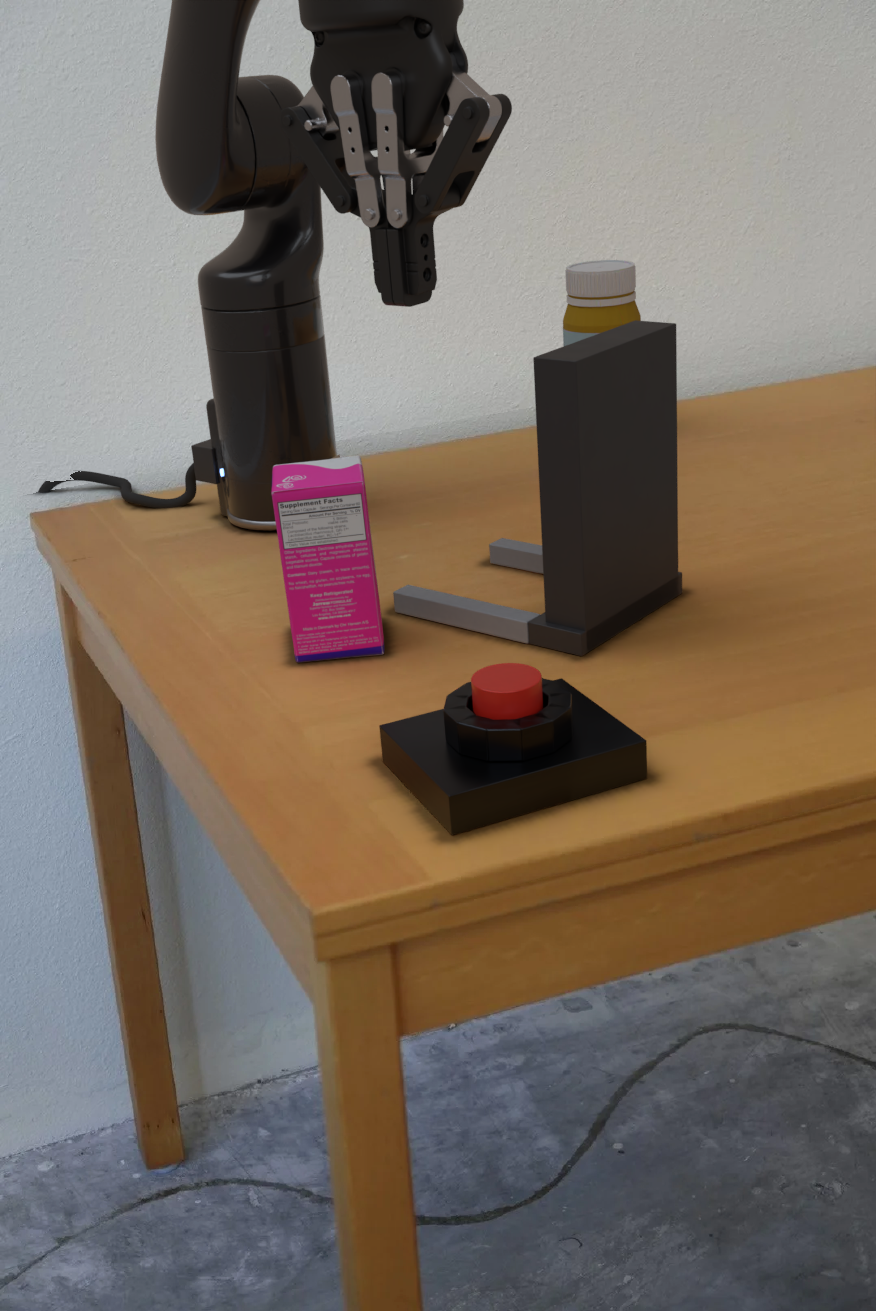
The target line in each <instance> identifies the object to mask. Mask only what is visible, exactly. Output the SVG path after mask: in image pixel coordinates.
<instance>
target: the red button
mask: <svg viewBox="0 0 876 1311" xmlns="http://www.w3.org/2000/svg"><path fill="white" fill-rule="evenodd" d="M542 678H543V676H542V673H541V671H540V670H539V669H537V668H536V667H534V666H532V665H529V664H526V663H525V664H524V663H518V662H503V663H502V662H501V663H495V664H490V665H487V666H484V667H481V668H480V669H477V671H475V672H474V673H473V674H472V675H471V678H470V682H471V687H472V701H473V711H474V713H475V714H476V715H477V716H481V717H485V718H489V719H493V720H502V719H518V718H522V717H525V716H529V715H533V714H536V713H538V712H539V711H540V710H542V708H543V694H542Z"/></svg>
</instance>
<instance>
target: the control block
mask: <svg viewBox="0 0 876 1311" xmlns="http://www.w3.org/2000/svg"><path fill="white" fill-rule="evenodd" d="M542 694H543V708H542V710H540V711H539V712H538V713H536V714H533V715H529V716H525V717H522V718H518V719H502V720H493V719H489V718H485V717H481V716H477V715H476V714H475V713H474V711H473V701H472V687H471V681H468V682H466V683H464V684H462V685H460V686H459V687H458V688H456V689H454V690H453V691H451V692H450V693H449V694H447V695H446V697H445V701H444V704H443V705H444V706H443V708H441V709H437V710H433V711H429V712H425V713H422V714H418V715H413V716H410V717H406V718H402V719H399V720H394V721H390V722H387V723H383V724H380V725H379V738H380V747H381V757H382V762H383V763H384V765H385V766H387V768H388V769H389V770H390V771H391V772H392V773H393V774H394V775H395V776H396V778H398V780H399V781H400V782H401V783H402V784H403V785H404V786H405V787H406V788H407V789H408V790H409V791H410V792H411V794H412V795H413V796H414V797H415V798H416V799H417V800H418V801H419V802H420V803H421V804H422V805H423V806H424V808H426V810H427V811H428V812H430V814H432V815H433V817H434V818H435V819H436V820H437V821H438V822H439V823H440V824H441V826H443V828H444V829H445V830H446V831H448V833H449V834H450V835H451V836H454V835H458V834H462V833H465V832H468V831H472V830H475V829H479V828H482V827H485V826H488V825H492V824H496V823H499V822H502V821H506V820H509V819H513V818H516V817H519V816H523V815H527V814H531V813H533V812H536V811H540V810H545V809H547V808H551V807H553V806H558V805H561V804H564V803H568V802H571V801H574V800H577V799H581V798H584V797H588V796H592V795H595V794H599V793H601V792H605V791H609V790H612V789H615V788H619V787H622V786H626V785H629V784H633V783H635V782H639V781H643V780H647V779H648V758H647V757H648V753H647V751H648V750H647V749H648V747H647V746H648V745H647V739H646V738H644V737H643V736H641V735H640V734H638V733H637V732H635V730H633V729H631V728H630V727H629V726H628V725H626V724H625V723H624V722H622V721H621V720H619V719H618V718H617V717H615V715H613V714H611V713H610V712H609V711H607V710H605V709H604V708H603V707H601V706H600V705H599V704H597V703H596V702H595V701H594V700H592V698H589V697H588V696H587V695H586V694H584V693H582V692H581V691H580V690H579V689H578V688H576V687H575V686H573V685H572V684H570V683H569V682H568V681H566V680H565V679H564V678H562V677H560V678H557V679H554V680H553V679H549V678H544V677H542Z"/></svg>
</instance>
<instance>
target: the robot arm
mask: <svg viewBox="0 0 876 1311" xmlns="http://www.w3.org/2000/svg"><path fill="white" fill-rule="evenodd" d="M260 2H261V0H171V5H170V11H169V12H170V13H169V20H168V21H169V22H168V28H167V32H166V33H167V34H166V41H165V47H164V54H163V60H162V67H161V74H160V81H159V89H158V96H157V104H156V112H155V135H154V139H155V154H156V155H155V156H156V162H157V168H158V172H159V176H160V180H161V183H162V186H163V189H164V190H165V192H166V195H167V196H168V197H169V199H170V201H171V202H172V204H173V205H174V206H176V208H178V209H179V210H180V211H182V212H183V213H186V214H188V215H192V216H214V215H215V216H216V215H221V214H223V215H224V214H229V213H235V212H242V211H243V221H242V226H241V228H240V230H239V232H238V234H237V235H236V236H235V238H234V239H233V240H232V242H231V243H230V244H228V246H227V247H226V248H225V249H224V250H222V251H220V252H219V253H218V254H217V255H215V256H214V257H212V258H211V259H210V260H208V261H207V262H206V263H205V264H204V265H202V267H201V268H200V269H199V271H198V274H197V288H198V296H199V303H200V309H201V316H202V324H203V331H204V338H205V339H204V340H205V345H206V352H207V359H208V360H207V361H208V367H209V374H210V381H211V382H210V383H211V390H212V397H213V398H210V399H209V400H207V401H206V406H205V409H206V415H207V423H208V430H209V439H207V440H206V439H205V440H204V441H201V442H198V443H195V444H192V445H191V446H190V448H191V453H192V461H193V462H192V463H191V464H190V466H189V467H188V469H187V470H186V473H185V477H184V484H185V491H184V492H183V493H182V494H181V495H179V496H176V497H174V498H159V497H154V496H149V495H144V494H140V493H136V492H133V490H132V488H133V487H132V483H131V482H130V481H129V480H128V479H127V478H124V477H121V476H117V475H116V476H115V475H111V474H105V473H101V472H95V471H88V470H77V471H78V472H75V473H73V474H71V475H70V476H71V477H72V478H73V479H74V480H66V481H54V482H50V481H46V480H45V481H44V482H43V483H41V485H40V487H39V488H38V491H37V493H39V494H46V493H50V492H51V491H52V490H53V489H54V488H56V487H57V486H58V485H61V484H63V483H66V482H74V481H75V482H76V481H78V482H79V481H80V482H91V483H96V484H101V485H106V486H110V487H114V488H115V487H116V488H120V495H121V498H122V499H123V500H124V501H125V502H127V503H129V504H135V505H139V506H142V507H146V508H151V509H173V508H181V507H184V506H186V505H188V504H190V503H191V502H192V501H193V500H194V499H195V497H196V495H197V482H202V483H208V484H212V485H216V488H217V495H218V503H219V511H220V515H221V516H223V517H227V519H228V521H229V523H231V524H232V525H234V526H236V527H239V528H243V529H248V530H254V531H277V528H276V521H275V514H274V507H273V500H272V471H273V466H274V465H280V464H289V463H298V462H309V461H318V460H326V459H334V458H341V454H340V453H339V454H338V453H337V452H338V451H337V441H336V432H335V423H334V411H333V401H332V394H331V384H330V374H329V373H330V372H329V364H328V354H327V344H326V335H325V325H324V317H323V316H324V315H323V306H322V297H321V289H320V288H321V287H320V273H321V268H322V263H323V260H324V252H325V251H324V248H325V247H324V245H325V242H324V226H323V205H322V192H323V194H325V196H326V198H327V199H328V201H329V203H330V204H331V205H332V207H333V208H334V210H335V211H336V212H337V213H339V214H341V215H342V214H344V215H345V214H349V213H350V214H352V215H354V216H356V217H358V218H360V219H361V221H362V223H363V224H364V226H366V227H367V228H368V229H369V230H368V231H369V238H370V247H371V248H370V249H371V258H372V269H373V279H374V280H373V281H374V284H375V287H376V289H377V292H378V293H379V294H380V298H381V301H382V303H383V304H384V305H385V306H393V307H405V308H406V307H407V308H410V307H411V308H412V307H414V306H418V305H422V304H425V303H428V302H429V301H430V300H431V299H432V296H433V291H435V290H436V286H437V282H438V275H437V260H436V248H435V236H434V225H435V221H436V219H437V218H438V217H440V215H443V214H445V213H446V212H448V211H450V210H453V209H456V208H460V207H462V206H463V205H464V204H465V203H466V201H467V199H468V198H469V196H470V193H471V192H472V189H473V188H474V186H475V183H476V182H477V180H478V178H479V176H480V175H481V173H482V170H483V169H484V167H485V165H486V163H487V161H488V160H489V157H490V156H491V154H492V152H493V149H494V148H495V146H496V144H497V142H498V140H499V138H500V137H501V135H502V132H503V130H504V129H505V127H506V125H507V123H508V121H509V119H510V117H511V115H512V112H513V105H512V101H511V99H510V98H509V97H508V95H506V94H504V93H496V94H495V93H494V94H490V93H488V92H487V91H486V90H485V89H484V88H483V87H482V86H481V85H479V83H477V82H476V81H475V79H473V78H472V77H471V76H470V75H469V74H468V73H469V60H468V56H467V53H466V51H465V49H464V47H463V46H462V43H461V40H460V37H459V33H458V21H459V19H460V16H461V15H462V13H463V11H464V6H465V1H464V0H297V2H298V11H299V20H300V23H301V25H302V26H303V28H304V29H305V30H307V31H309V32H310V33H311V35H312V37H313V43H314V46H313V53H312V54H313V55H312V59H311V63H310V67H309V76H310V82H311V87H310V88H309V89H308V91H307V92H306V94H305V95H304V94H303V93H302V91H301V89H300V88H299V87H298V86H297V85H296V84H295V83H294V82H293V81H292V80H290V79H289V78H287V77H284V76H281V75H278V74H277V75H276V74H262V75H261V74H260V75H248V76H240V70H241V64H242V58H243V53H244V48H245V42H246V39H247V36H248V31H249V29H250V26H251V22H252V20H253V18H254V15H255V12H256V10H257V9H258V7H259V4H260ZM445 126H446V127H447V129H446V131H445V132H444V128H445ZM413 150H414V151H413ZM373 151H374V152H375V151H377V155H376V156H375V155H373V153H372V152H373ZM411 151H413V152H412V153H411ZM381 179H382V180H381ZM382 186H383V187H382ZM80 471H81V472H80ZM70 479H71V478H70Z"/></svg>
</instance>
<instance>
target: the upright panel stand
mask: <svg viewBox="0 0 876 1311" xmlns="http://www.w3.org/2000/svg"><path fill="white" fill-rule="evenodd" d="M677 355H678V354H677V323H674V322H662V321H661V322H660V321H647V320H641V321H636V320H635V321H632V322H630V323H627V324H624V325H621V326H619V327H616V328H613V329H610V330H608V331H605V332H602V333H599V334H597V335H594V336H591V337H588V338H586V339H583V340H580V341H577V342H575V343H572V344H569V345H566V346H564V345H563V346H561V347H558V348H555V349H553V350H550V351H547V352H545V353H542V354H539V355H536V356H533V358H532V360H533V380H534V399H535V401H534V402H535V404H534V405H535V423H536V443H537V444H536V445H537V447H536V448H537V465H538V466H537V467H538V487H539V489H538V490H539V508H540V529H541V544H536V543H531V542H526V541H522V540H521V541H520V540H515V539H510V538H505V537H500V538H498V539H496V540H494V541H493V542H491V543H489V544H488V547H489V563H490V564H493V565H496V566H497V565H498V566H502V567H507V568H513V569H517V570H522V571H527V572H531V573H537V574H540V575H541V574H542V575H543V593H544V594H543V595H544V612H543V613H537V612H533V611H529V610H524V609H519V608H514V607H510V606H506V605H501V604H497V603H492V602H489V601H483V600H479V599H474V598H470V597H466V596H461V595H456V594H453V593H447V592H443V591H439V590H434V589H429V588H425V587H422V586H416V585H412V584H406V585H404V586H402V587H400V588H398V589H396V590H393V592H392V595H393V596H392V597H393V608H394V612H395V613H397V614H401V615H406V616H409V617H415V618H419V619H422V620H427V621H431V622H435V623H439V624H444V625H448V626H451V627H456V628H460V629H464V630H468V631H473V632H476V633H480V634H485V635H489V636H494V637H498V638H501V639H507V640H510V641H514V642H517V643H523V644H527V645H528V644H529V645H532V646H533V645H534V646H538V647H542V648H546V649H550V650H555V651H559V652H562V653H566V654H571V655H575V656H579V657H583V656H585V655H586V654H588V653H589V652H591V651H592V650H594V649H596V648H597V647H599V646H600V645H602V644H604V643H605V642H607V641H609V640H610V639H611V638H613V637H615V636H617V635H618V634H619V633H622V632H623V631H624V630H626V629H628V628H630V626H633V625H634V624H635V623H637V622H639V621H640V620H642V619H643V618H645V617H647V616H648V615H649V614H652V613H653V612H655V611H656V610H657V609H660V608H661V607H663V606H664V605H666V604H667V603H669V602H670V601H672V600H674V599H675V598H677V597H678V596H680V595H682V594H683V572H682V571H679V519H678V518H679V517H678V516H679V505H678V504H679V501H678V500H679V499H678V496H679V495H678V494H679V492H678V490H679V489H678V487H679V486H678V483H679V482H678V481H679V480H678V394H677V393H678V373H677V369H678V368H677V367H678V366H677V364H678V362H677V361H678V359H677V358H678V356H677Z"/></svg>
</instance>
